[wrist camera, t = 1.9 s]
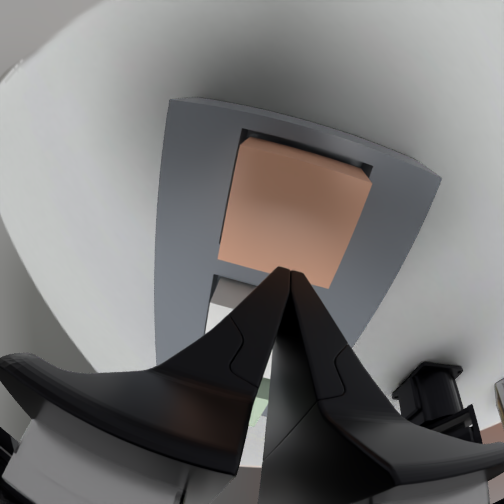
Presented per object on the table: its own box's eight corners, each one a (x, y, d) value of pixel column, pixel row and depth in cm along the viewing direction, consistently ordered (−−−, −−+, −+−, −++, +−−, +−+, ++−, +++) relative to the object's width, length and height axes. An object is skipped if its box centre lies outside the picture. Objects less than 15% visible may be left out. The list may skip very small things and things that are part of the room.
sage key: (273, 374, 22) (269, 400, 20) (258, 404, 25) (253, 426, 23) (206, 357, 22) (197, 381, 20) (200, 389, 25) (193, 411, 23)
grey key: (309, 299, 18) (309, 328, 16) (283, 354, 21) (280, 381, 19) (221, 276, 18) (210, 302, 16) (210, 335, 21) (200, 360, 19)
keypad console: (415, 159, 15) (442, 178, 12) (297, 390, 29) (295, 421, 25) (196, 97, 16) (169, 99, 12) (171, 357, 29) (158, 386, 26)
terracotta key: (361, 168, 13) (372, 183, 11) (325, 261, 16) (328, 288, 14) (250, 136, 13) (239, 145, 11) (229, 235, 16) (217, 259, 14)
